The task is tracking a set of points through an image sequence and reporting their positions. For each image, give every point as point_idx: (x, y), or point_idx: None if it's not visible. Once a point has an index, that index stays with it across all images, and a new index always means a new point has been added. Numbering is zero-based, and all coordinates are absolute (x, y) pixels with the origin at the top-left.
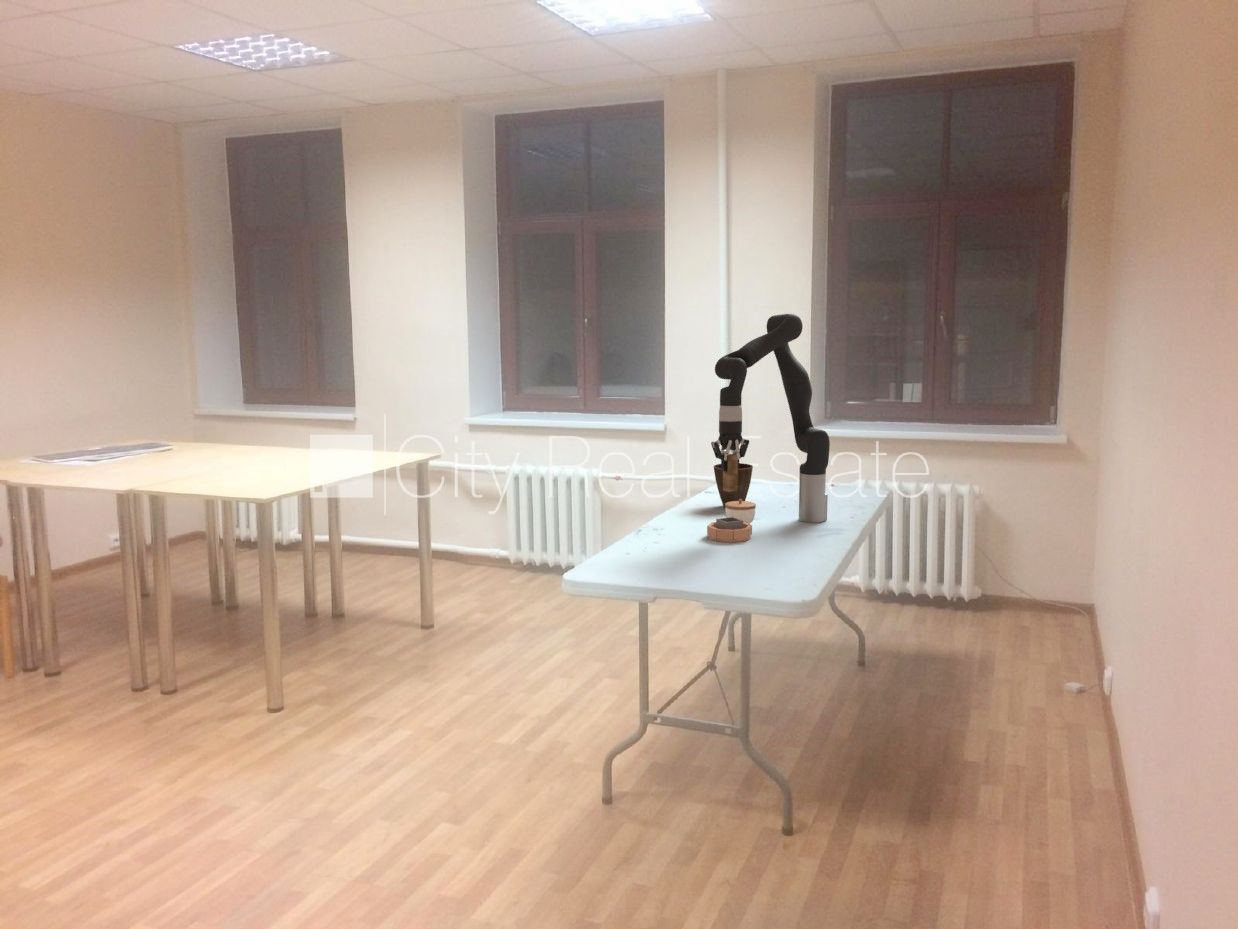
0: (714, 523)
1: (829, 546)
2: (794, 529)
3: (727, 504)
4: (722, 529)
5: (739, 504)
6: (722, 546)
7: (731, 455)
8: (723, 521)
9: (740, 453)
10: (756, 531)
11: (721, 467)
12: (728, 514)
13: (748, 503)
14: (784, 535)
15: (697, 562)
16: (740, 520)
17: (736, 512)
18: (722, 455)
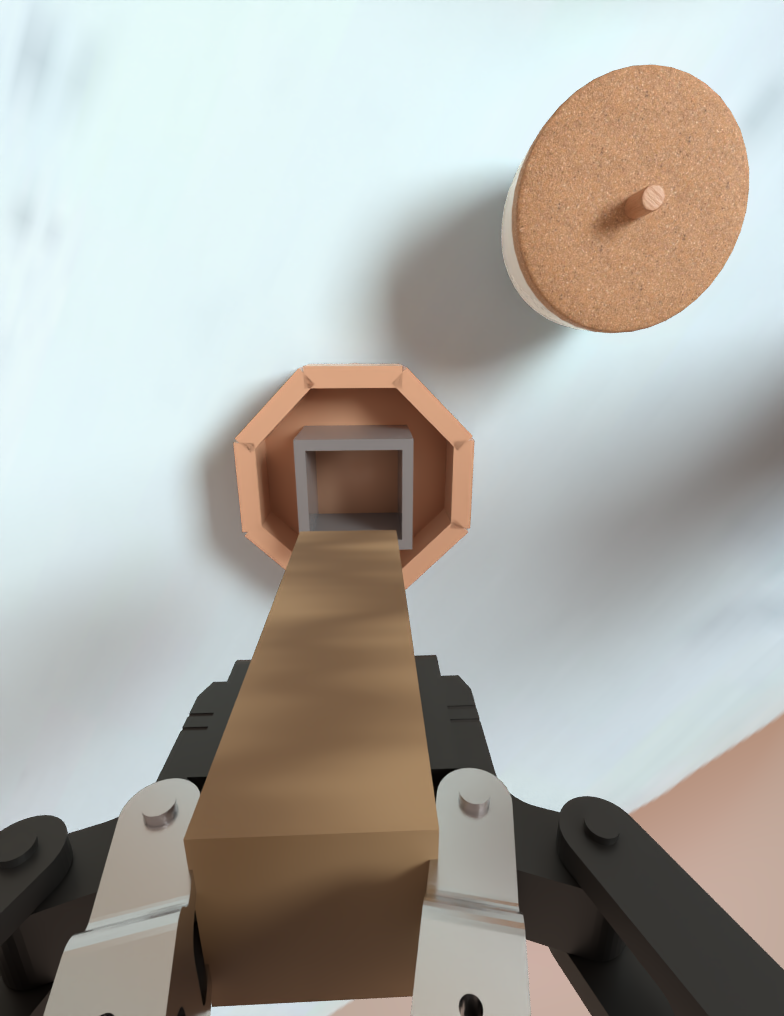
0: (310, 388)
1: (619, 759)
2: (732, 468)
3: (533, 181)
4: (275, 547)
5: (604, 241)
6: (243, 600)
7: (289, 996)
8: (299, 519)
9: (581, 926)
10: (550, 419)
11: (194, 713)
12: (503, 232)
13: (682, 243)
14: (605, 548)
15: (43, 758)
16: (402, 537)
17: (530, 297)
18: (140, 883)
